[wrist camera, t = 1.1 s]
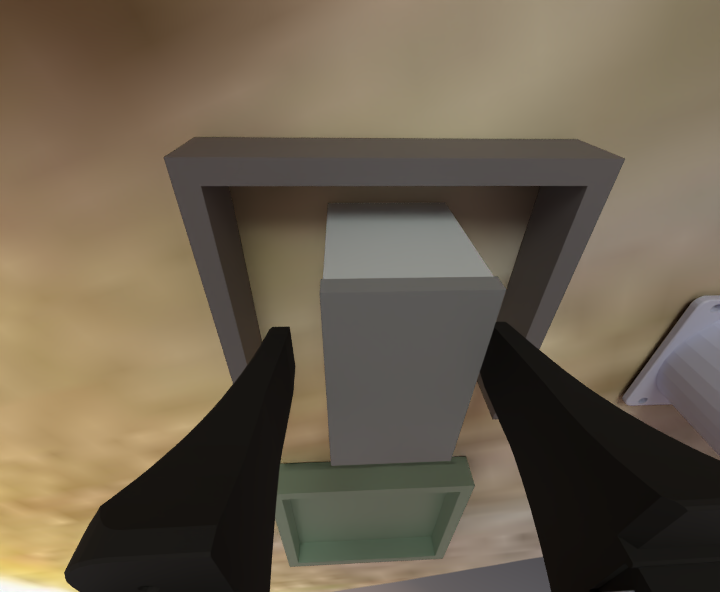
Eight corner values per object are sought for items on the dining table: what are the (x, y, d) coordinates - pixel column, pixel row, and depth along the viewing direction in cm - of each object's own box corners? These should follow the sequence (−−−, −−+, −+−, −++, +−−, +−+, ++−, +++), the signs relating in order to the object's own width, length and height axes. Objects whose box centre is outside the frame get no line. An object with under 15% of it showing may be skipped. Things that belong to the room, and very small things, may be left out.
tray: (465, 456, 25) (474, 485, 23) (437, 533, 33) (442, 558, 31) (272, 464, 24) (267, 494, 22) (292, 540, 32) (289, 566, 30)
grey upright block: (445, 200, 13) (506, 289, 9) (420, 349, 18) (450, 460, 13) (326, 200, 13) (319, 293, 8) (333, 351, 18) (331, 465, 13)
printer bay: (578, 139, 12) (625, 158, 10) (490, 380, 20) (508, 418, 18) (194, 137, 12) (163, 157, 10) (256, 387, 19) (246, 427, 17)
